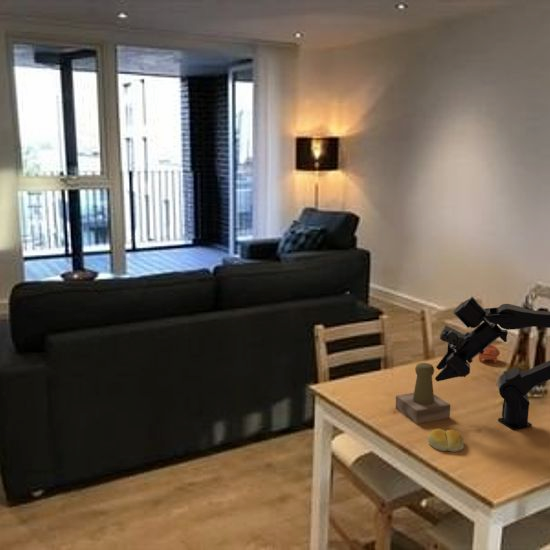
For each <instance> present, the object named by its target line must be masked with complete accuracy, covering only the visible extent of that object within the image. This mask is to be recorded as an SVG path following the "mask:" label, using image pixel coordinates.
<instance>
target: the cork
mask: <svg viewBox="0 0 550 550" xmlns="http://www.w3.org/2000/svg"><path fill="white" fill-rule="evenodd" d="M414 369H415V374H416V379H415V385H414V390H413V393H414V395H413V401H414V402H415V403H418V404H422V405H429V404H432V403H434V395H435V393H434V384H433V375H434V373H435V368H434V366H433V365H432V364H431V363H429V362H419V363H417V364H416V366H415V368H414Z"/></svg>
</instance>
